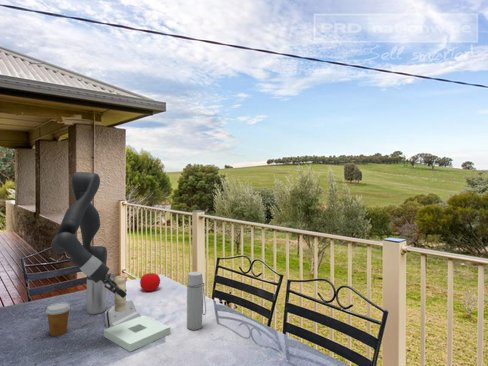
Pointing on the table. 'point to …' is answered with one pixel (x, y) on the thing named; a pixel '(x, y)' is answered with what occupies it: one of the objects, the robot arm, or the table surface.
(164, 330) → the collar block
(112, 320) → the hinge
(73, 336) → the table surface
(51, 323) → the disposable coffee cup
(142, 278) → the tomato
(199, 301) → the water bottle
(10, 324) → the table surface
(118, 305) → the birch pin
